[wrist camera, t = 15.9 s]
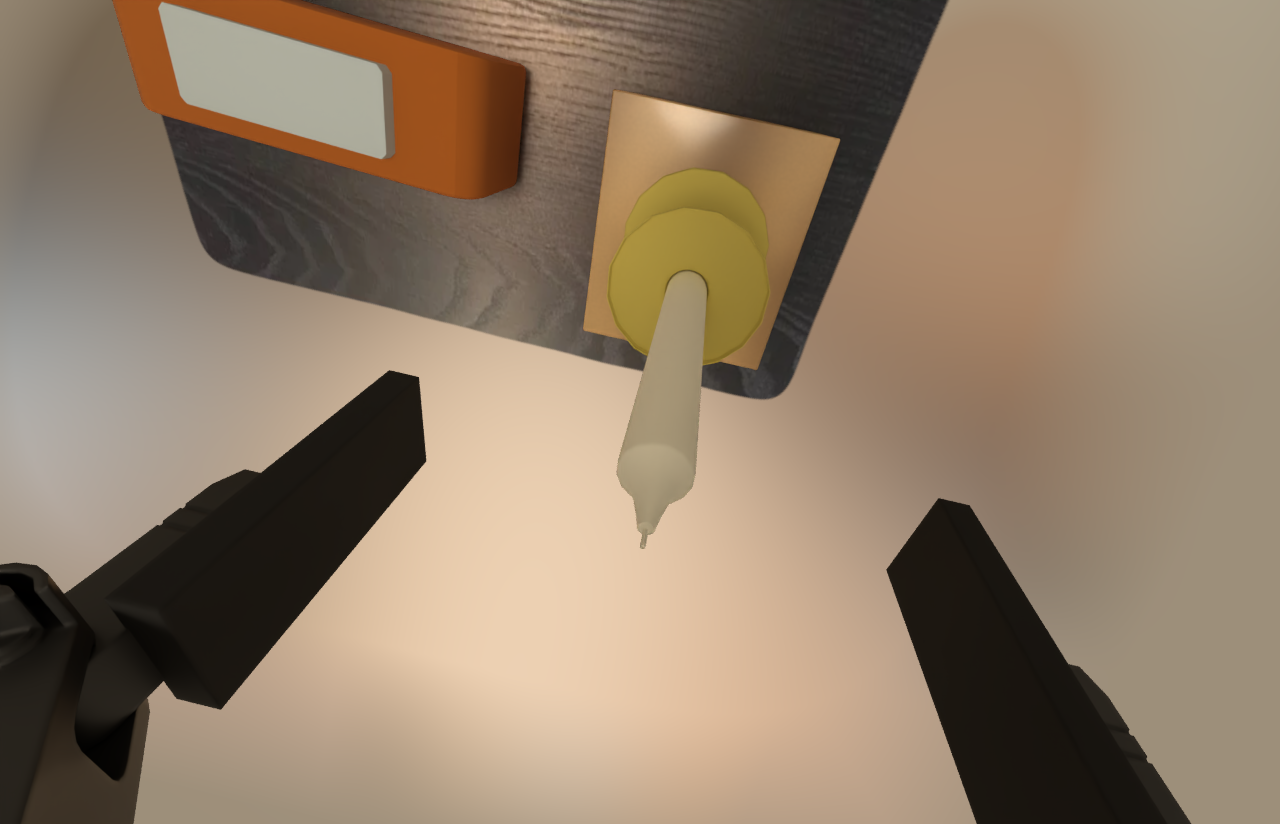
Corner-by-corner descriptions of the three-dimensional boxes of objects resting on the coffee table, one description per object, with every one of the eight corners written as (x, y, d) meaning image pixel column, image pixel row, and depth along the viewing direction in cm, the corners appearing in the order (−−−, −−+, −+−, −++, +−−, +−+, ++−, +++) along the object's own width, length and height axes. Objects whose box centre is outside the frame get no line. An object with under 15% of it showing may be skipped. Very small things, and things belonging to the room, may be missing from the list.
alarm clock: (249, 106, 41) (107, 106, 31) (225, -22, 36) (50, -68, 27) (523, 184, 41) (464, 208, 32) (534, 67, 36) (469, 54, 27)
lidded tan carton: (815, 132, 36) (841, 139, 29) (750, 326, 45) (757, 370, 37) (634, 92, 36) (612, 88, 29) (605, 293, 45) (582, 330, 38)
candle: (695, 342, 37) (659, 712, 14) (594, 252, 34) (357, 532, 12) (800, 243, 32) (993, 567, 10) (692, 129, 29) (607, 207, 7)
